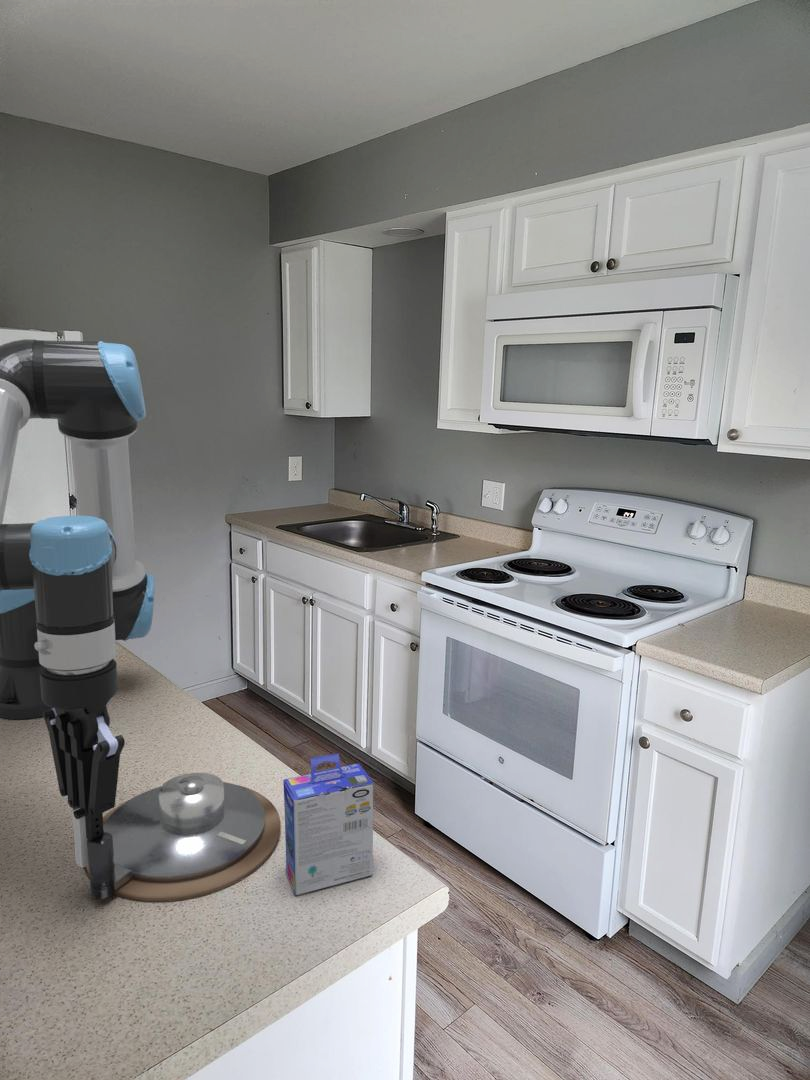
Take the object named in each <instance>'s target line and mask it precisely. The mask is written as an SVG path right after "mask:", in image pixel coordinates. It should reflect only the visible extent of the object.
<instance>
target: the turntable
mask: <svg viewBox="0 0 810 1080" xmlns="http://www.w3.org/2000/svg"><path fill="white" fill-rule="evenodd" d="M223 784H224V813H225V814H224V818H223V820H222V821H221V822H220V823H219V824H218V825H217V826H215V827H214V828H212V829H210V830H208V831H206V832H203V833H200V834H195V835H175V834H172V833H169V832H167V831H165V830H164V829H163V828H162V827H161V824H160V810H159V790H160V788H161V786H157V787H154V788H152V789H149V790H146V791H144V792H142V793H140V794H138V795H136V796H133V797H132V798H130V799H128V800H129V801H128V800H126V801H127V802H126V801H125V802H126V803H124V802H123V803H124V804H123V803H122V804H123V805H121V804H120V805H121V806H120V807H119V808H118V809H117V810H115V811H114V812H113V813H112V814H111V816H110V817H109V818H108V819H107V821H106V822H105V824H104V826H103V827H104V833H103V836H102V837H100V838H98V839H95V840H93V841H89V840H87V847H88V860H89V874H90V876H89V883H87V888H88V893H90V895H91V897H92V898H93V899H96V900H105V899H106V898H109V897H111V896H112V895H114V894H113V893H114V892H115V890H117V889H118V888H119V887H121V886H122V885H123V884H125V883H126V882H127V881H129V880H130V879H131V878H133V879H138V880H142V881H150V882H177V881H184V880H191V879H195V878H199V877H203V876H206V875H209V874H213V873H215V872H218V871H220V870H223V869H225V868H227V867H228V866H230V865H232V864H234V863H236V862H237V861H239V860H240V859H242V858H243V857H244V856H246V855H247V854H248V853H249V852H250V851H251V850H252V849H253V848H254V847H255V846H256V845H257V843H258V842H259V840H260V839H261V837H262V835H263V832H264V828H265V812H264V808H263V805H262V803H261V802H260V800H259V799H258V798H257V797H256V796H255V795H254V794H253V793H251V792H250V791H248V790H247V789H245V788H243V787H244V786H243V787H240V786H241V785H239V786H237V785H238V784H235V785H234V783H231V782H226V781H223ZM89 874H88V875H89Z"/></svg>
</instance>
